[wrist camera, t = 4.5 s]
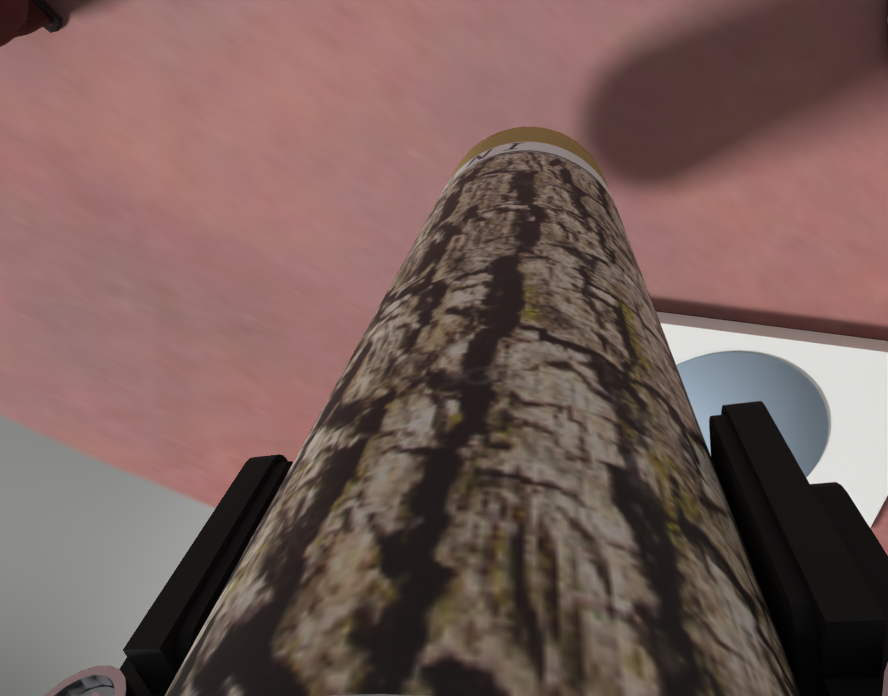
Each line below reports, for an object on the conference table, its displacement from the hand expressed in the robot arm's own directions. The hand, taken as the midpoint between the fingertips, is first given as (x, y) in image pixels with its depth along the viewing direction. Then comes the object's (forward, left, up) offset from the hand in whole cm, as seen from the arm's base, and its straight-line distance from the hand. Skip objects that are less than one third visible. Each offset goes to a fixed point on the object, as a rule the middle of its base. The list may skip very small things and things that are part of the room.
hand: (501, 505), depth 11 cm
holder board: (-9, +16, -24) cm, 30 cm away
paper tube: (0, 0, -19) cm, 19 cm away
